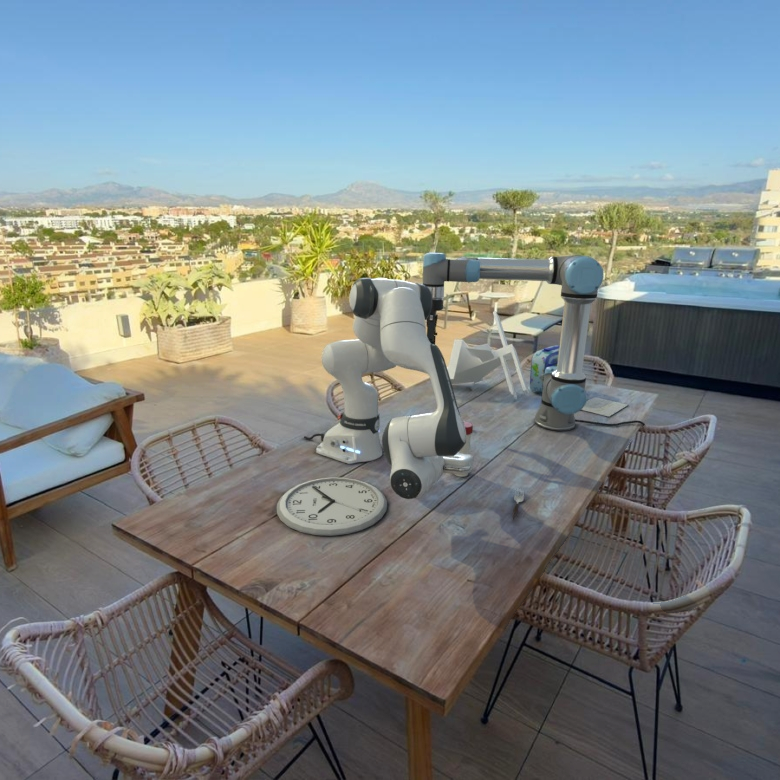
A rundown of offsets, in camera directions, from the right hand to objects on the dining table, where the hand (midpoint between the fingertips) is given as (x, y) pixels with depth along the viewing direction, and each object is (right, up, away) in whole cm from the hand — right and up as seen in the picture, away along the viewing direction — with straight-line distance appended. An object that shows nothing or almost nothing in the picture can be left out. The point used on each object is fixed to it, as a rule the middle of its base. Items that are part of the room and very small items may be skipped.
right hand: (430, 357), depth 190 cm
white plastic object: (+27, -13, +54) cm, 61 cm away
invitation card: (+77, -19, +37) cm, 87 cm away
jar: (+7, -38, -27) cm, 47 cm away
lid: (+8, -23, -32) cm, 40 cm away
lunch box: (+61, -12, +59) cm, 86 cm away
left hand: (-1, -29, -51) cm, 58 cm away
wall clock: (-30, -43, -47) cm, 71 cm away
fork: (+20, -44, -46) cm, 67 cm away
